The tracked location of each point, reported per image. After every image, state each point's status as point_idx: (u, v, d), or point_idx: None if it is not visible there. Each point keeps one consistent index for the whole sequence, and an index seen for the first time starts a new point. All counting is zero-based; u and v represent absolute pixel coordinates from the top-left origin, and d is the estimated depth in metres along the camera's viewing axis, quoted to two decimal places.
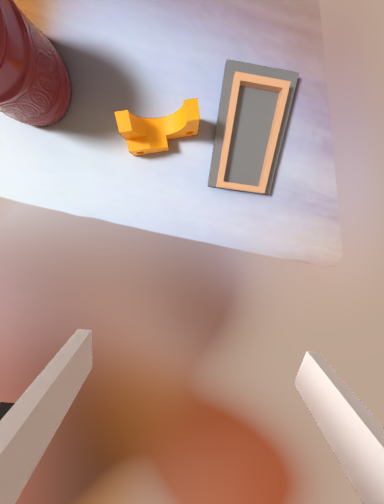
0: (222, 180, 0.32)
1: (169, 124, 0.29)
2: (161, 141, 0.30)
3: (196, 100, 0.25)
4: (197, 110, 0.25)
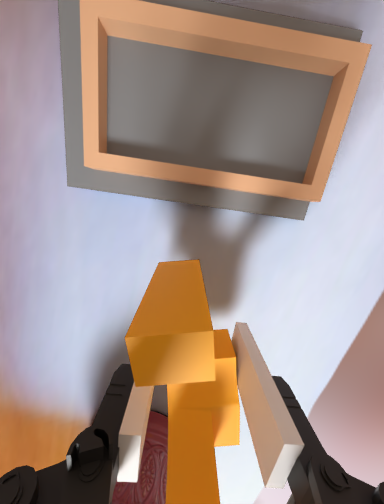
0: (308, 187, 0.13)
1: None
2: (221, 369, 0.11)
3: (135, 341, 0.05)
4: (176, 339, 0.05)
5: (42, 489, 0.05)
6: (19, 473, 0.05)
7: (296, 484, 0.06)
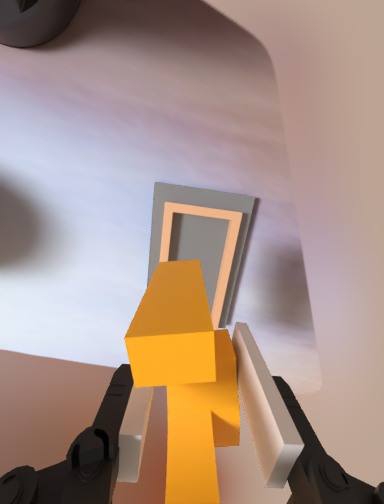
0: None
1: None
2: (221, 370, 0.11)
3: (135, 342, 0.05)
4: (176, 339, 0.05)
5: (42, 489, 0.05)
6: (19, 473, 0.05)
7: (296, 484, 0.06)
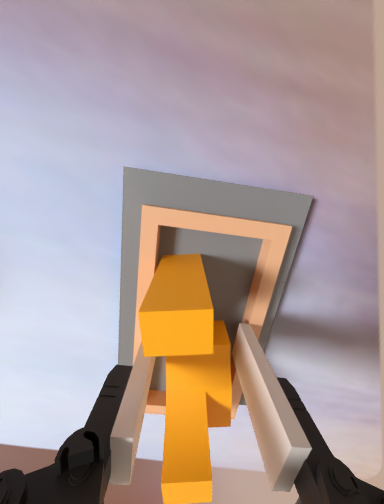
0: None
1: None
2: (216, 355, 0.12)
3: (146, 316, 0.06)
4: (181, 315, 0.06)
5: (30, 493, 0.05)
6: (7, 476, 0.05)
7: (304, 487, 0.06)
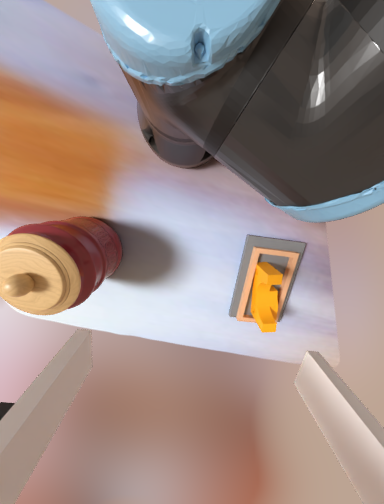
0: (242, 316, 0.39)
1: (263, 288, 0.35)
2: (272, 295, 0.36)
3: (269, 275, 0.31)
4: (276, 275, 0.31)
5: None
6: None
7: None
